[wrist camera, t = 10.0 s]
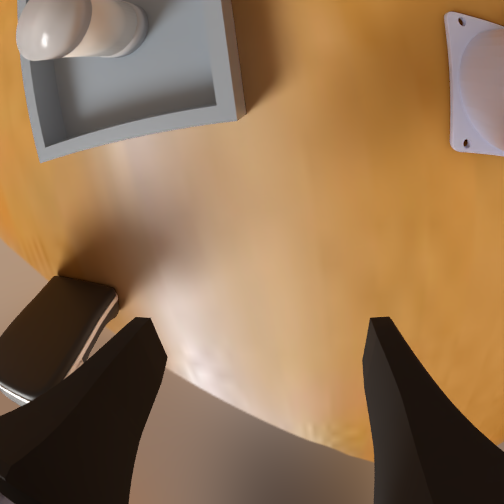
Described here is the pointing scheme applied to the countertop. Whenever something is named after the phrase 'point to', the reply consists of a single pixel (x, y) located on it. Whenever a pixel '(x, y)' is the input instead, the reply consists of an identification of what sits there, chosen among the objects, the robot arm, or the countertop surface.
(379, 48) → the countertop surface
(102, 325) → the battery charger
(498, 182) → the countertop surface
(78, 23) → the cylinder
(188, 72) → the parts tray
